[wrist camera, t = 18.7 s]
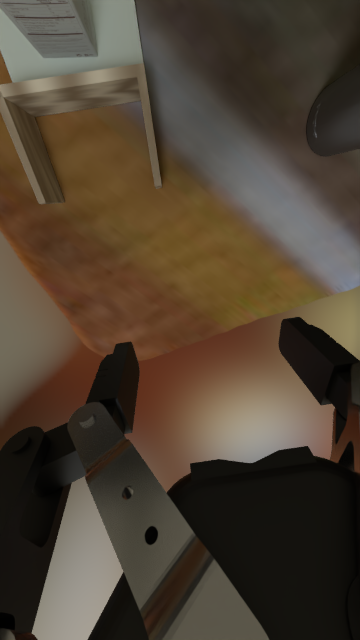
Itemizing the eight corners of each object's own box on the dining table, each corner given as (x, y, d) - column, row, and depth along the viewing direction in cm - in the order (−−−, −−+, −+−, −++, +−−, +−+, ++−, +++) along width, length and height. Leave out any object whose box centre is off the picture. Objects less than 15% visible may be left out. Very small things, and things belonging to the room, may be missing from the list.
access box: (147, 90, 30) (143, 63, 24) (161, 187, 36) (161, 185, 30) (24, 108, 30) (-11, 86, 24) (59, 203, 36) (39, 204, 30)
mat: (122, -82, 23) (121, -88, 23) (145, 75, 29) (144, 72, 29) (-38, -58, 23) (-43, -64, 23) (18, 94, 29) (16, 92, 29)
